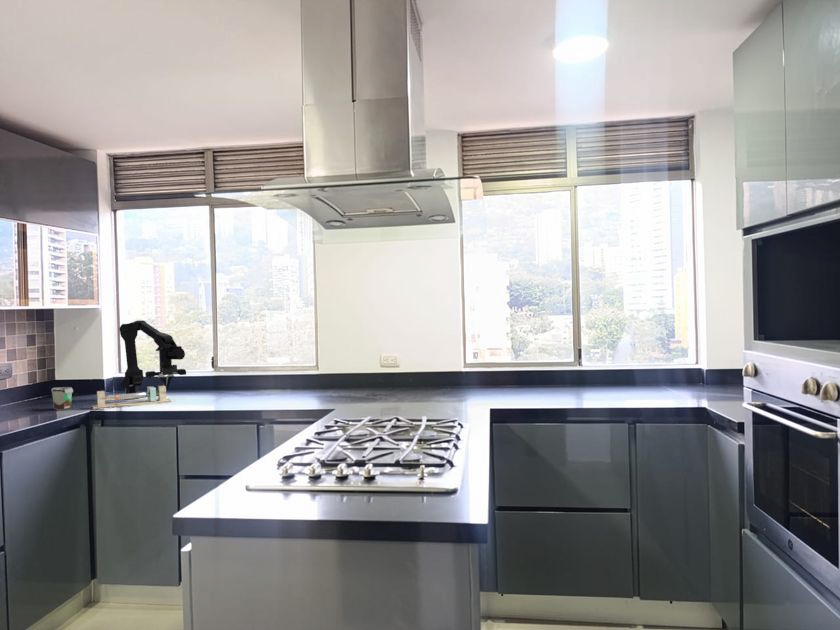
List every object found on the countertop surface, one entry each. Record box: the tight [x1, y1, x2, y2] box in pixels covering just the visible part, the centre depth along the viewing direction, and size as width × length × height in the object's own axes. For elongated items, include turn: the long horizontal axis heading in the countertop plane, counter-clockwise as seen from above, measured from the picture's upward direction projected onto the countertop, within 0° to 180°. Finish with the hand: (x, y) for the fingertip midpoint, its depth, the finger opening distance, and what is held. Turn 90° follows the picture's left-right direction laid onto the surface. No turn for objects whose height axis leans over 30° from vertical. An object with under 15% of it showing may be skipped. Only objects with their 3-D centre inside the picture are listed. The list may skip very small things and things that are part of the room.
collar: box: [146, 385, 157, 401], centre depth 293 cm, size 11×2×6 cm, turn 32°
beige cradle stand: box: [91, 385, 172, 410], centre depth 286 cm, size 10×34×8 cm, turn 122°
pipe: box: [96, 390, 159, 403], centre depth 286 cm, size 3×30×3 cm, turn 122°
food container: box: [51, 386, 74, 411], centre depth 280 cm, size 12×6×10 cm, turn 59°
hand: (166, 389), depth 300 cm, fingers closed
